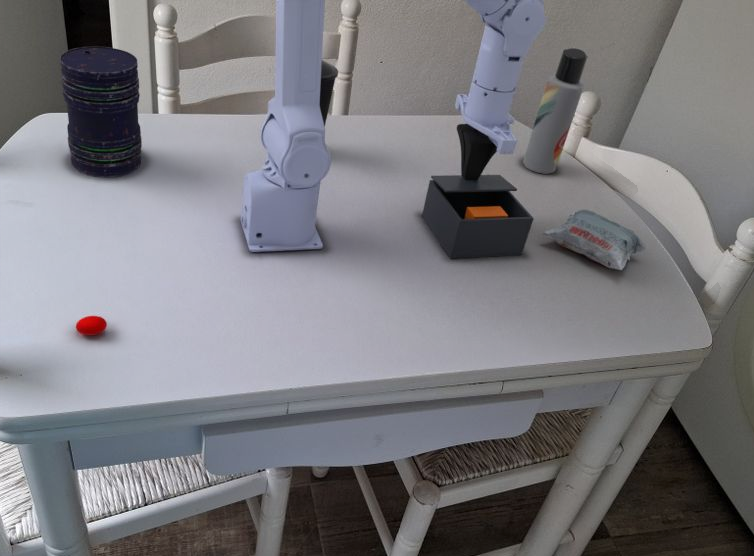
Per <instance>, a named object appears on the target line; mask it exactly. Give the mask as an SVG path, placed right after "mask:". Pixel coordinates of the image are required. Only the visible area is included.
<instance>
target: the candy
mask: <svg viewBox="0 0 754 556" xmlns="http://www.w3.org/2000/svg"><path fill="white" fill-rule="evenodd" d="M107 327H108V322H107V321H106V319H105V318H104V317H102V316H99V315H88V316H84V317H82V318H80V319H79V320H78V321H77V322H76V324H75V329H76V331H77V332H78V333H79V334H81V335H85V336H94V335H99V334H102V333H103V332H104V331H105V330H106V329H107Z"/></svg>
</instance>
